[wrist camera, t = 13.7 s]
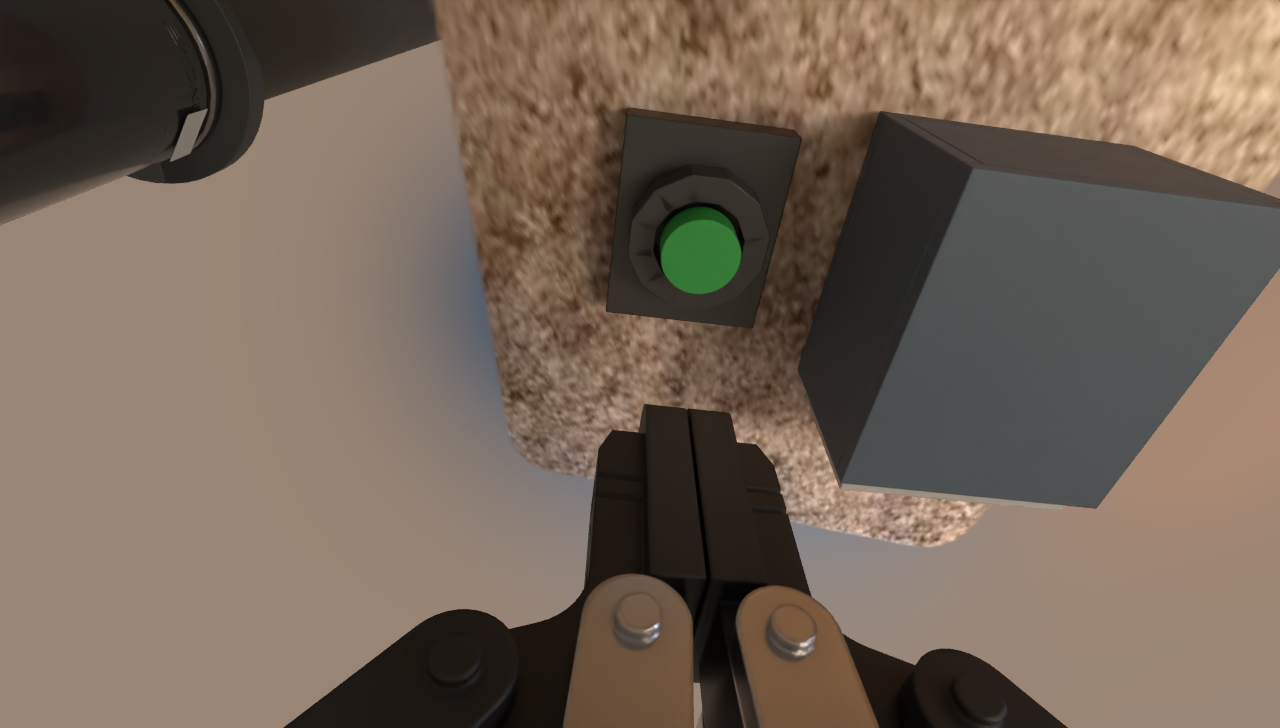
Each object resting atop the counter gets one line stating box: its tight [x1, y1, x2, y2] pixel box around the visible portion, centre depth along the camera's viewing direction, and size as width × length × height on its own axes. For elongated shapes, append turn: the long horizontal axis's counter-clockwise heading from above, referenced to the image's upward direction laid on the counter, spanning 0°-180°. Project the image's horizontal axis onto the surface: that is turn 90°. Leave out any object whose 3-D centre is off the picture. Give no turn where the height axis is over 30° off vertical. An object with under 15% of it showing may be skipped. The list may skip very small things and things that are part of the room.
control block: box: [606, 108, 802, 328], centre depth 30 cm, size 10×8×4 cm
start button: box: [660, 207, 741, 294], centre depth 28 cm, size 4×4×2 cm
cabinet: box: [798, 111, 1280, 508], centre depth 29 cm, size 15×13×10 cm
